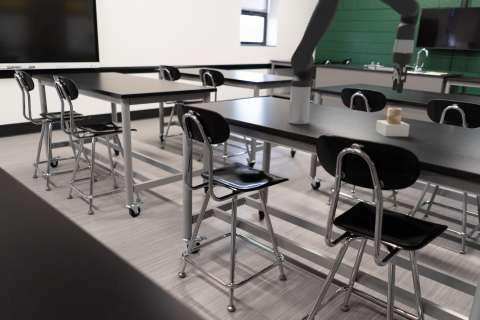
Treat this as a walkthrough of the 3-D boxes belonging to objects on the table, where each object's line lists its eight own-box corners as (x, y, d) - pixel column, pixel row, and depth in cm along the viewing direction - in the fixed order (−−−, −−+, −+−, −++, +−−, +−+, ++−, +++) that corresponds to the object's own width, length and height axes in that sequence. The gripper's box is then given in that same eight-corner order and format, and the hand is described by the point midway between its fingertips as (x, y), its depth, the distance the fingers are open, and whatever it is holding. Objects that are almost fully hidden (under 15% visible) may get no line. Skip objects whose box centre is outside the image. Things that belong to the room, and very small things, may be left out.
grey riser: (384, 136, 168) (386, 124, 166) (375, 131, 177) (376, 120, 176) (407, 136, 168) (409, 125, 167) (397, 131, 178) (398, 120, 176)
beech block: (387, 123, 169) (389, 109, 168) (386, 121, 174) (387, 107, 172) (400, 124, 168) (402, 109, 167) (398, 121, 173) (400, 108, 171)
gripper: (389, 50, 170) (384, 89, 175) (397, 51, 156) (391, 93, 161) (408, 51, 169) (402, 90, 174) (417, 52, 155) (410, 94, 160)
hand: (396, 91), depth 167 cm, fingers open, 8 cm apart
